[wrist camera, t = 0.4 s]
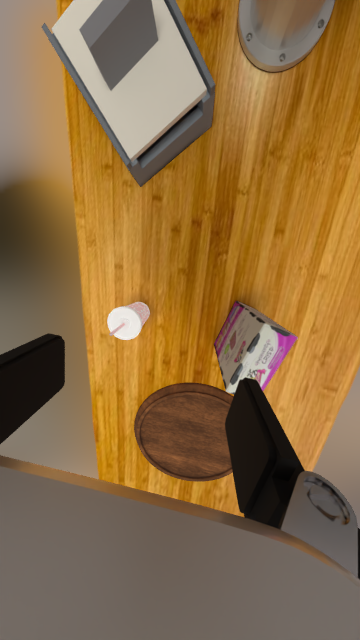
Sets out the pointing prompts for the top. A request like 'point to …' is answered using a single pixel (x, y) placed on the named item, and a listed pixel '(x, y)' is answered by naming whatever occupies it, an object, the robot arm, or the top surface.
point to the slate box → (177, 134)
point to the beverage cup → (128, 320)
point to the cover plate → (142, 84)
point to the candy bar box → (251, 347)
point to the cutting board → (186, 431)
